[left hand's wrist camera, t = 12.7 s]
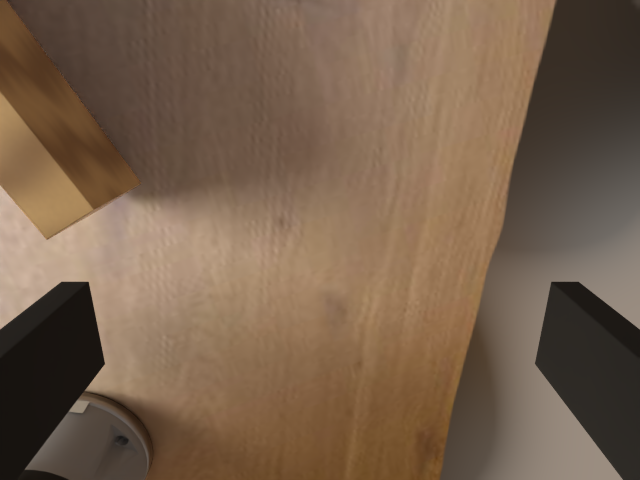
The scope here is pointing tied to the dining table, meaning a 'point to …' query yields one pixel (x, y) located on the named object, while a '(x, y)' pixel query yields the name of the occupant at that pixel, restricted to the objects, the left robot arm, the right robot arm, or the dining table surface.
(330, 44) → the dining table surface
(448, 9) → the dining table surface
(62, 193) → the bar
